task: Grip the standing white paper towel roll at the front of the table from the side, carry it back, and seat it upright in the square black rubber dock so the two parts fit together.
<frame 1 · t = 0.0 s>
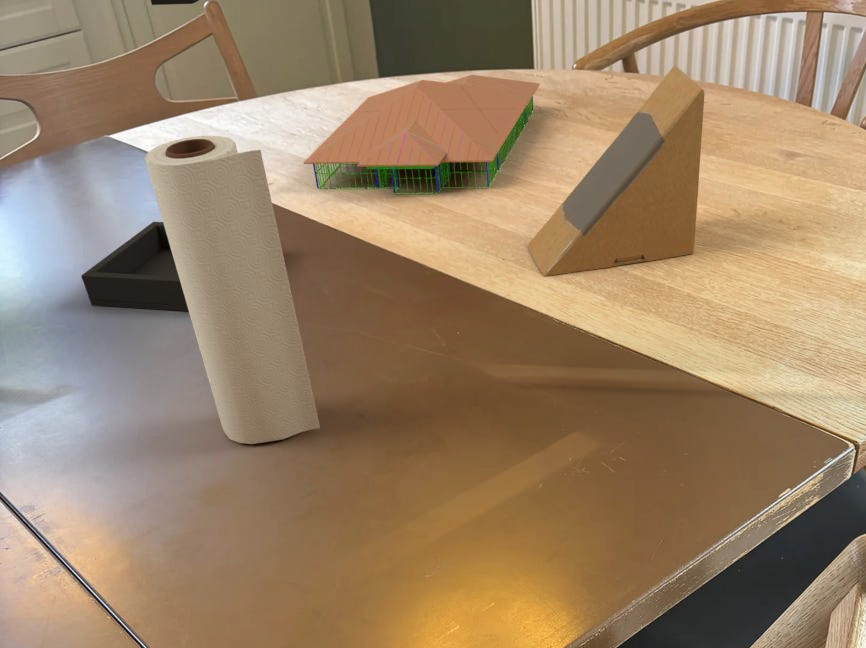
house: (429, 153, 129), on the table
paper towel roll: (265, 431, 82), on the table
roll dock: (185, 279, 105), on the table
sandwich container: (607, 251, 103), on the table
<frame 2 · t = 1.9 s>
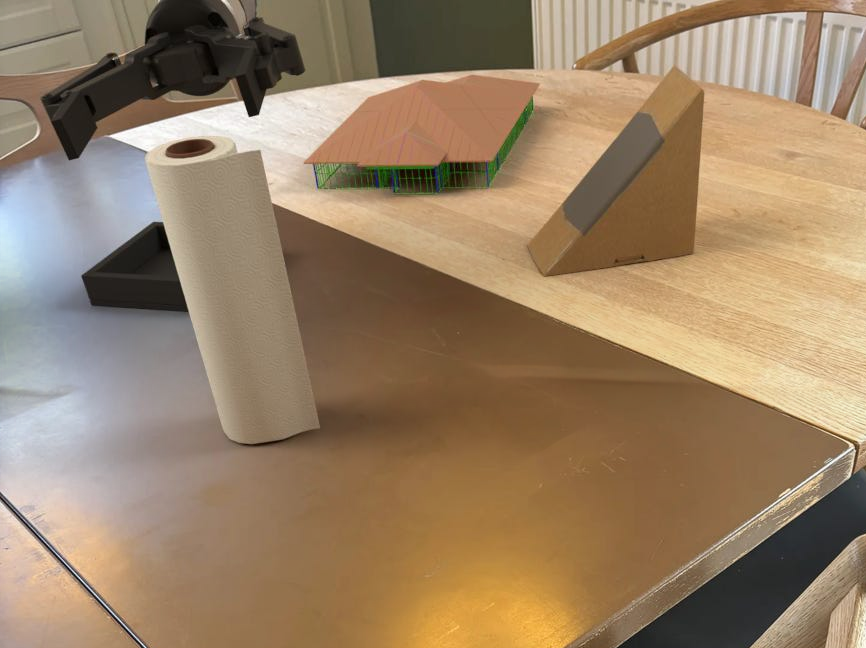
hand: (155, 118, 72), 22 cm above the table, tool horizontal, fingers open, 13 cm apart
nothing on the table moved.
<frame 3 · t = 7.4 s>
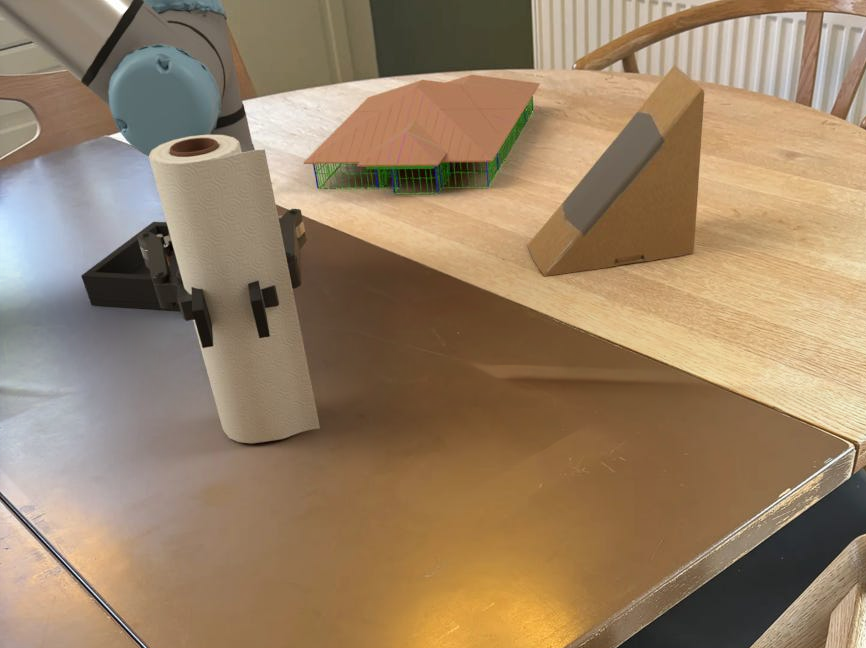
hand: (231, 323, 70), 11 cm above the table, tool horizontal, fingers closed on paper towel roll, 3 cm apart
paper towel roll: (265, 430, 82), on the table, touching gripper
everything else where it was.
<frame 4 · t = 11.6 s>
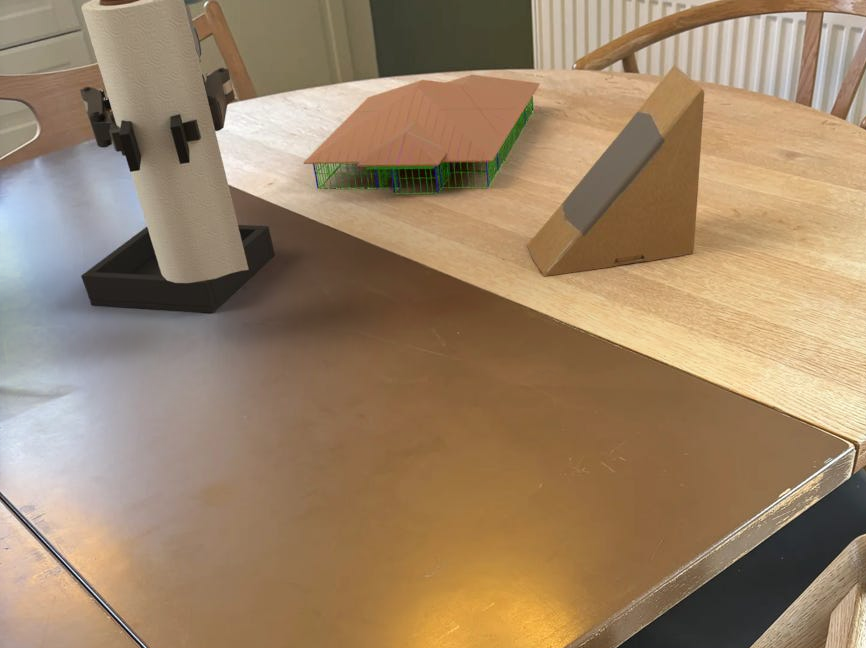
hand: (154, 148, 79), 18 cm above the table, tool horizontal, fingers closed on paper towel roll, 3 cm apart
paper towel roll: (200, 275, 91), point 6 cm above the table, touching gripper
everything else where it was.
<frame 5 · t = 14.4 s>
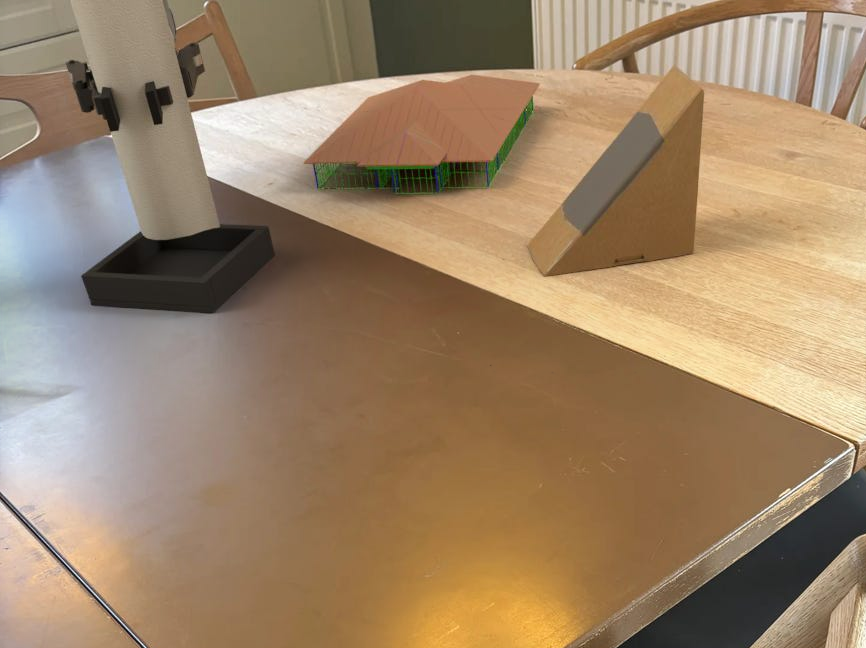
hand: (131, 111, 90), 17 cm above the table, tool horizontal, fingers closed on paper towel roll, 3 cm apart
paper towel roll: (176, 233, 102), point 5 cm above the table, touching gripper
everything else where it was.
when the fingers open (13 cm above the table, at t = 16.2 s): paper towel roll stays where it is, resting on roll dock.
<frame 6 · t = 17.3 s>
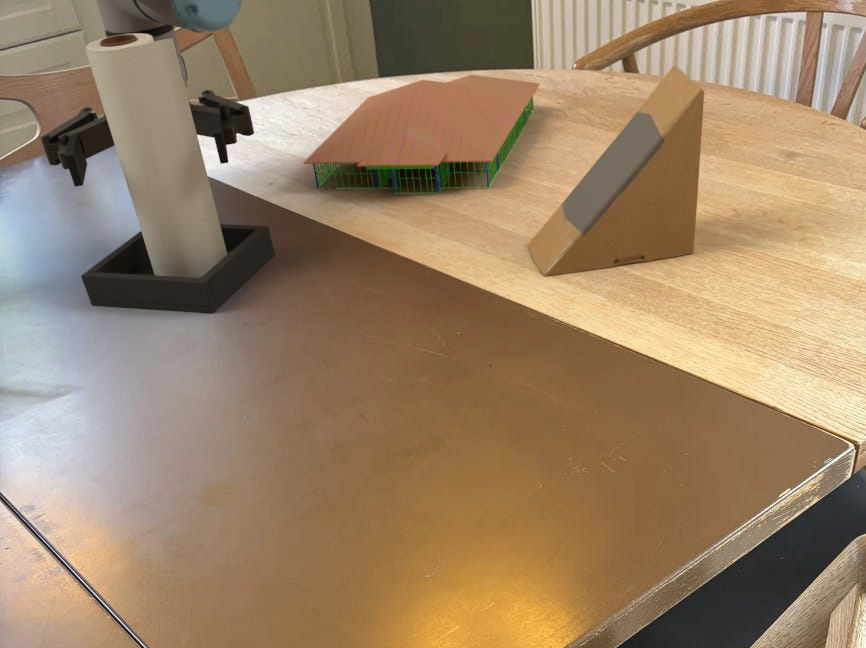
hand: (147, 159, 94), 13 cm above the table, tool horizontal, fingers open, 13 cm apart
paper towel roll: (188, 274, 105), resting on roll dock
everything else where it was.
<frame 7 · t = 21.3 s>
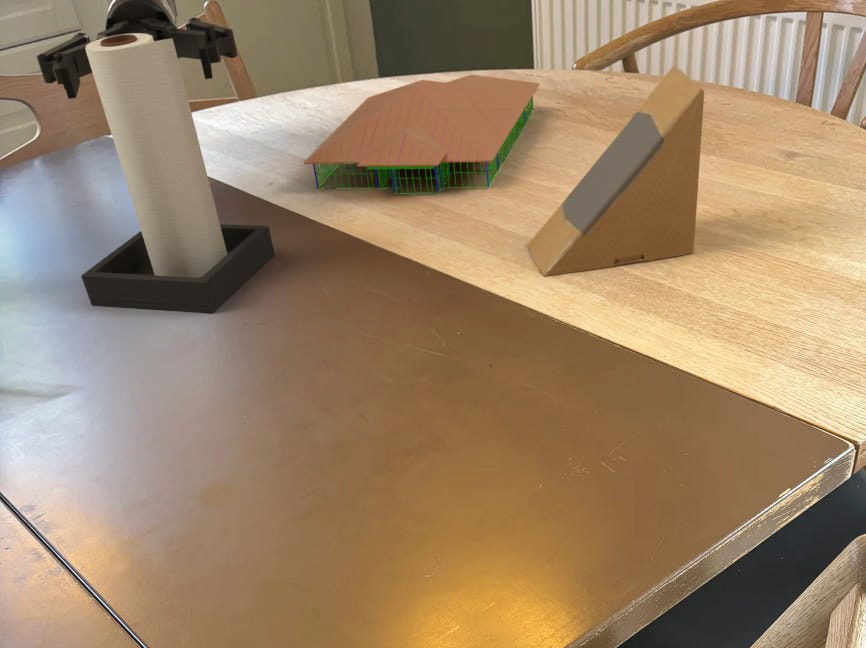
hand: (137, 73, 101), 17 cm above the table, tool horizontal, fingers open, 13 cm apart
nothing on the table moved.
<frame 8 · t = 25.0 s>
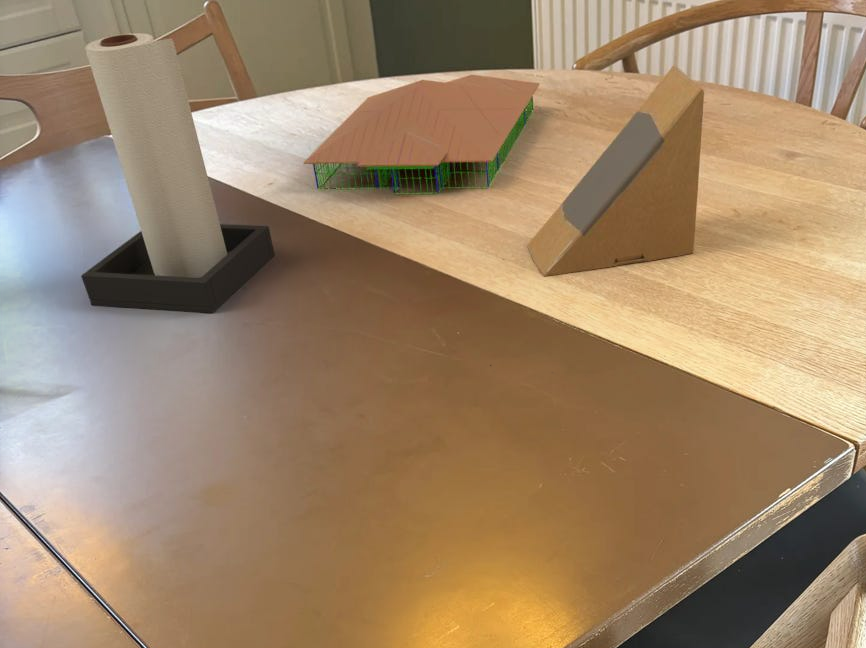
nothing on the table moved.
at the end: paper towel roll 0.4 cm off-centre on the roll dock, point 0.4 cm above the roll dock's base; paper towel roll tilted 0°; the gripper is holding nothing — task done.
